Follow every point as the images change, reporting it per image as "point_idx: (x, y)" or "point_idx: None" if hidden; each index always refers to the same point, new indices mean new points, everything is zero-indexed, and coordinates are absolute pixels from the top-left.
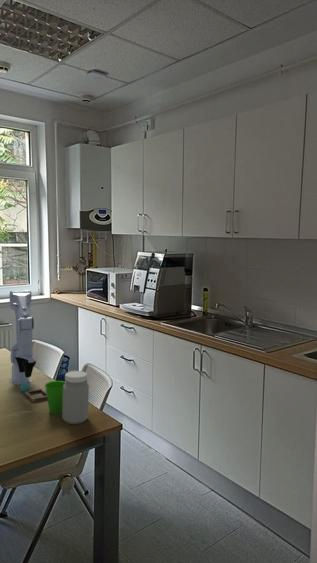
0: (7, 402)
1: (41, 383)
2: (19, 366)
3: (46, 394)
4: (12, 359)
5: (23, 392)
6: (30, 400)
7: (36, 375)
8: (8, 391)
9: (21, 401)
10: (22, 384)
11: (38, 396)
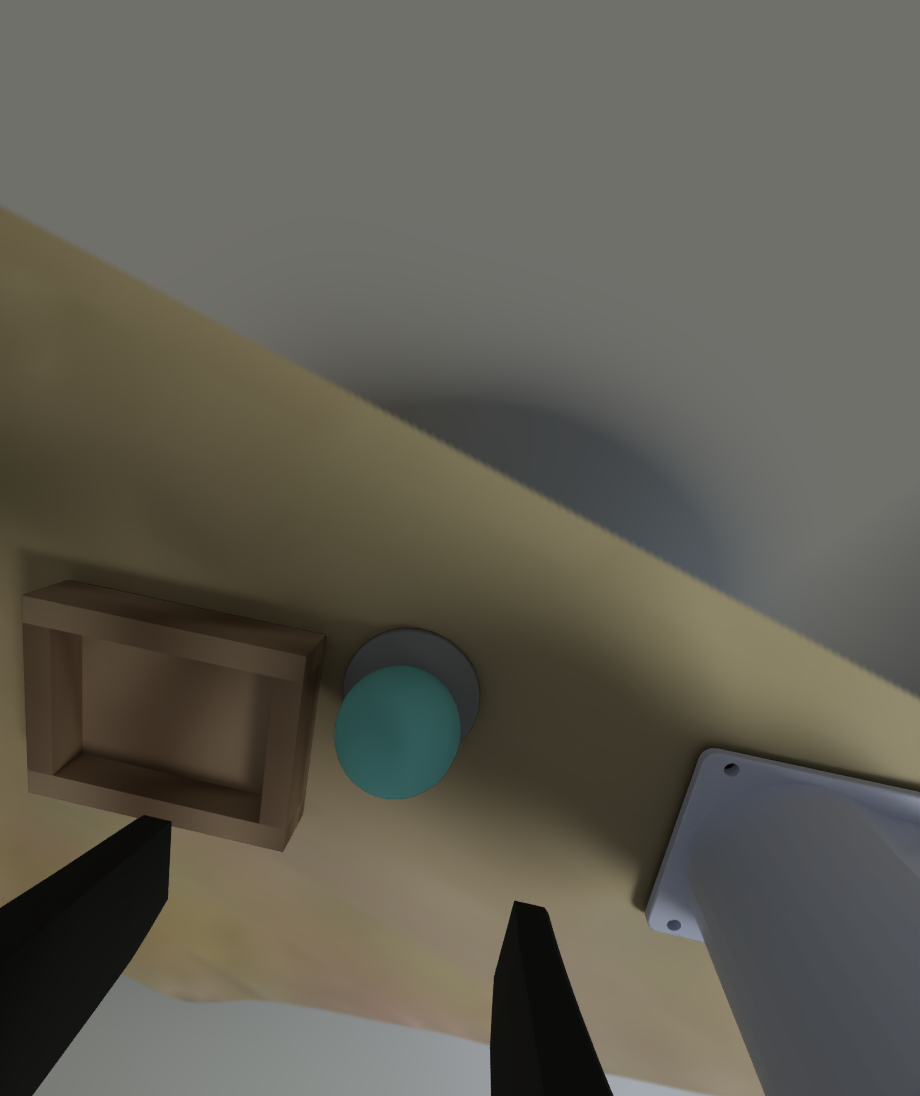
0: (254, 382)
1: None
2: (536, 1080)
3: (96, 782)
4: None
5: None
6: (126, 597)
7: None
8: (585, 576)
9: (190, 523)
10: (388, 725)
11: (180, 717)
